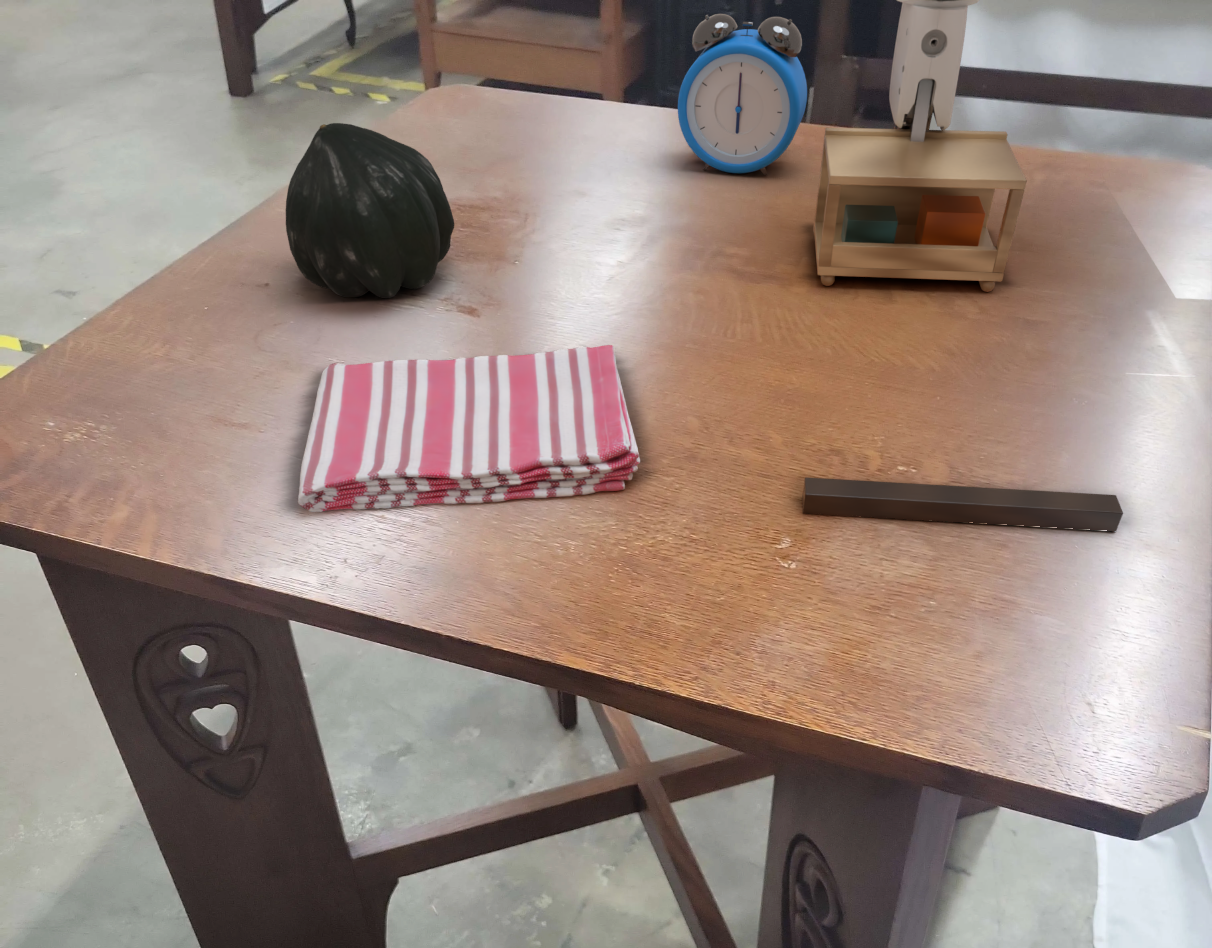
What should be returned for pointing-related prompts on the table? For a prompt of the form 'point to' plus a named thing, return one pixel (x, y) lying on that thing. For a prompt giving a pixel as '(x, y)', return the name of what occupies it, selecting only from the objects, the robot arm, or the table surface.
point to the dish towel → (468, 431)
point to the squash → (366, 213)
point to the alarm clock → (743, 93)
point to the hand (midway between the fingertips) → (899, 193)
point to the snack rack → (914, 204)
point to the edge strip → (961, 504)
